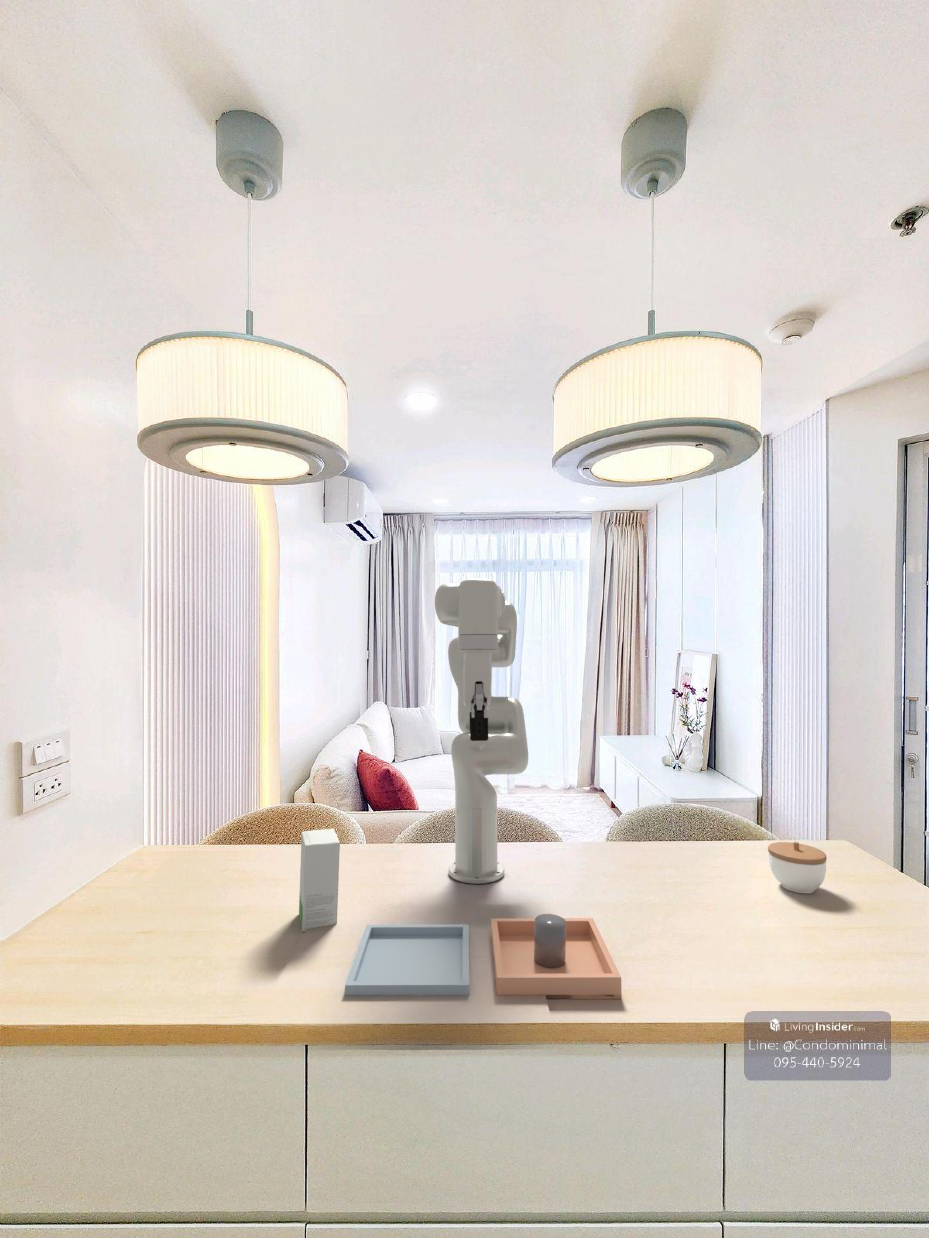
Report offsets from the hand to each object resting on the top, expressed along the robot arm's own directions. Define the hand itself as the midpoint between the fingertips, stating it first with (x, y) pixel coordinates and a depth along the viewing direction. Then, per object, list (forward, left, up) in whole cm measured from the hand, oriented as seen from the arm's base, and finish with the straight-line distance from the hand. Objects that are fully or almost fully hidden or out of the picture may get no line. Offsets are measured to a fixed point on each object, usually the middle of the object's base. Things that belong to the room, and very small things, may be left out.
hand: (478, 736), depth 105 cm
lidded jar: (-16, +68, -34) cm, 78 cm away
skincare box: (-2, -30, -34) cm, 46 cm away
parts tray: (+13, -11, -34) cm, 38 cm away
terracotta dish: (+13, +11, -34) cm, 38 cm away
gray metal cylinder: (+13, +11, -34) cm, 38 cm away
